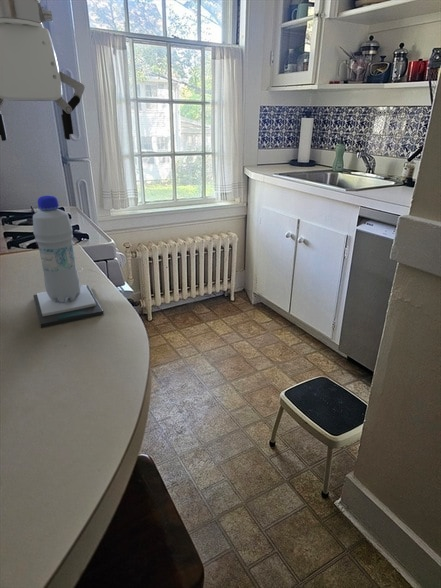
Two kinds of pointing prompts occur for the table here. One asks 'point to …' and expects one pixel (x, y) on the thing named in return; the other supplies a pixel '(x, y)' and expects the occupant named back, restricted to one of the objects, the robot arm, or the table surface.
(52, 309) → the scale
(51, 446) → the table surface
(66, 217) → the bottle
